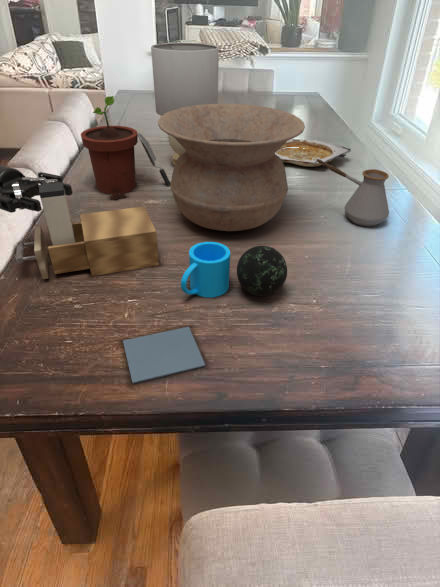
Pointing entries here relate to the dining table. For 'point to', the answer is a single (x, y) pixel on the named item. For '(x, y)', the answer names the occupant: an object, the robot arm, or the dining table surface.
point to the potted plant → (115, 156)
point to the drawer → (56, 252)
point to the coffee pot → (366, 197)
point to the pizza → (310, 152)
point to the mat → (162, 354)
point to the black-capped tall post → (57, 213)
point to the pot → (230, 163)
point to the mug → (207, 270)
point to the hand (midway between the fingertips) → (55, 198)
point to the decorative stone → (261, 270)
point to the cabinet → (119, 240)
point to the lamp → (184, 79)
